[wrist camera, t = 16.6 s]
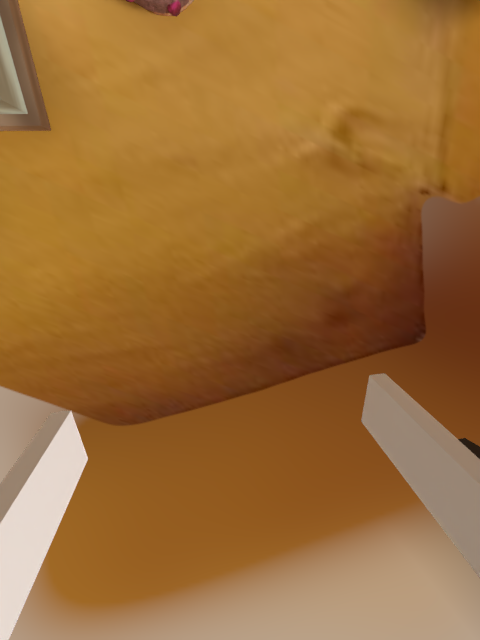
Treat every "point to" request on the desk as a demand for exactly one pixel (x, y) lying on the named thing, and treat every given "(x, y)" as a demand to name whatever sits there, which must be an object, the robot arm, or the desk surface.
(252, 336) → the desk surface
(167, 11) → the mug
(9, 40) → the two-tier square plinth
